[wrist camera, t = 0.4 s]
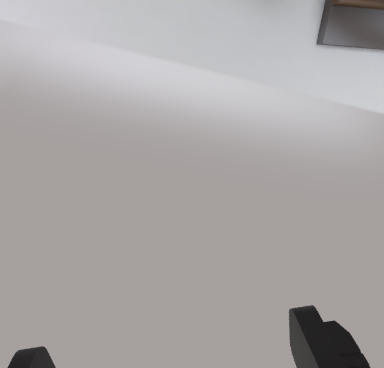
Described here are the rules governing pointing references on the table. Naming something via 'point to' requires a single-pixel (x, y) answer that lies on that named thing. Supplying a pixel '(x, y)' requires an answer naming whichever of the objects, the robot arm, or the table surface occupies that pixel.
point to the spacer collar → (353, 23)
